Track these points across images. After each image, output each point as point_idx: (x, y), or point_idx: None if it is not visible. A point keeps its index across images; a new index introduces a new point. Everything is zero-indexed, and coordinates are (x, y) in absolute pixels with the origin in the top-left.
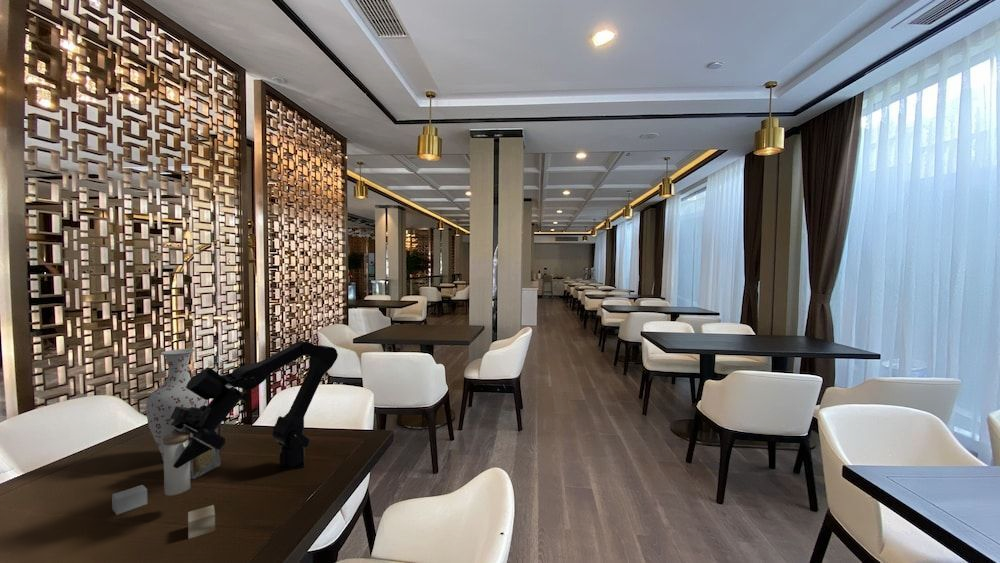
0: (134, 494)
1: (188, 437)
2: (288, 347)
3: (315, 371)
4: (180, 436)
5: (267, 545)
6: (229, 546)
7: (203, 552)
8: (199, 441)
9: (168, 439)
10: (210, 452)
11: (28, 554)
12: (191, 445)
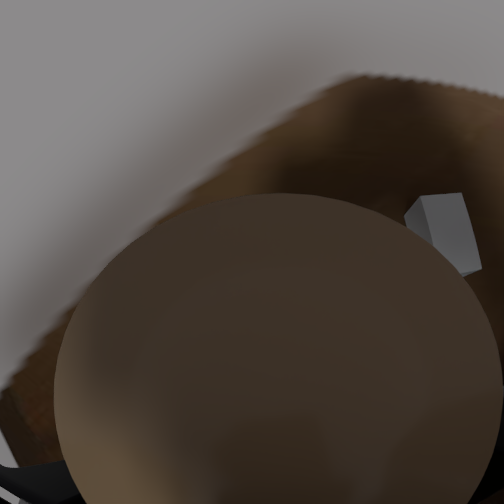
0: (431, 242)
1: (59, 501)
2: None
3: None
4: (133, 474)
5: (13, 405)
6: (40, 370)
7: (52, 332)
8: (22, 501)
9: (133, 271)
10: None
11: (323, 89)
12: (61, 461)
